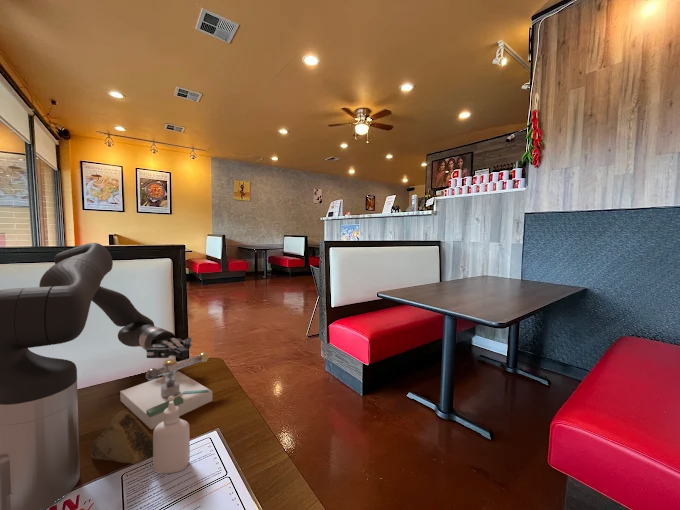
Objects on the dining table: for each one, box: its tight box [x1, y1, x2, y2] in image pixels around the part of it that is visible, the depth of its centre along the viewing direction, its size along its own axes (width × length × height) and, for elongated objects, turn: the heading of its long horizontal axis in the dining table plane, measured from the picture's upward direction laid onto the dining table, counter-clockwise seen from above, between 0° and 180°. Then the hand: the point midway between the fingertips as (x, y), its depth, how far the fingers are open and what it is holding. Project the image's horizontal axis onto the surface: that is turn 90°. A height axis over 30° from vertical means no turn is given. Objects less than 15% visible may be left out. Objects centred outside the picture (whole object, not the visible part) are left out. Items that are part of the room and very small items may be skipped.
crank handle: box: [145, 351, 209, 387], centre depth 73 cm, size 15×3×6 cm, turn 144°
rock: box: [90, 410, 153, 465], centre depth 55 cm, size 11×9×10 cm
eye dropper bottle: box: [152, 401, 191, 474], centre depth 51 cm, size 4×6×12 cm
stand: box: [119, 371, 213, 430], centre depth 72 cm, size 14×18×5 cm
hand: (184, 354), depth 79 cm, fingers closed
